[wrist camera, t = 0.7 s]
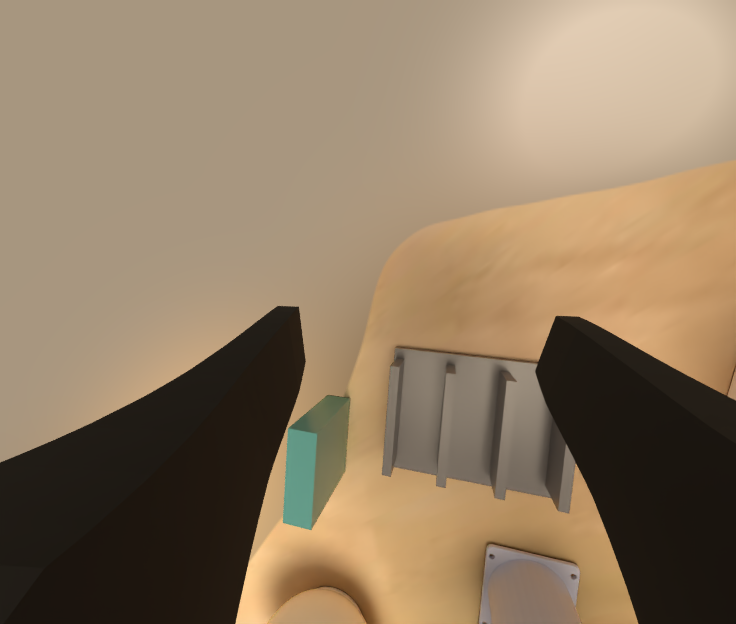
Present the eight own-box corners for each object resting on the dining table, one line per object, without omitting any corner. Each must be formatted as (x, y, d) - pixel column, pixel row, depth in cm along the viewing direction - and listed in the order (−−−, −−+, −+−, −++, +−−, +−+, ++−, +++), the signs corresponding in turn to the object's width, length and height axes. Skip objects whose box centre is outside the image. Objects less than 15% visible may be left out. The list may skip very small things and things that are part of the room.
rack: (553, 493, 30) (570, 525, 26) (387, 461, 34) (378, 485, 30) (568, 366, 29) (588, 378, 25) (396, 346, 33) (389, 354, 29)
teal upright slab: (345, 471, 35) (311, 530, 26) (323, 466, 36) (282, 522, 27) (350, 398, 34) (317, 433, 26) (327, 394, 35) (288, 428, 26)
